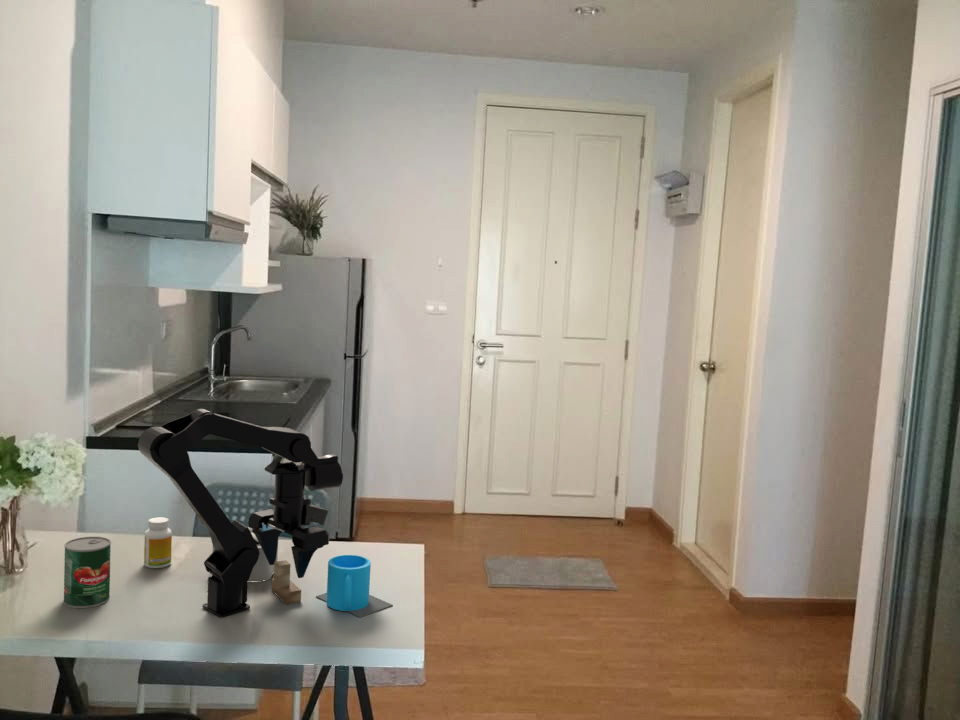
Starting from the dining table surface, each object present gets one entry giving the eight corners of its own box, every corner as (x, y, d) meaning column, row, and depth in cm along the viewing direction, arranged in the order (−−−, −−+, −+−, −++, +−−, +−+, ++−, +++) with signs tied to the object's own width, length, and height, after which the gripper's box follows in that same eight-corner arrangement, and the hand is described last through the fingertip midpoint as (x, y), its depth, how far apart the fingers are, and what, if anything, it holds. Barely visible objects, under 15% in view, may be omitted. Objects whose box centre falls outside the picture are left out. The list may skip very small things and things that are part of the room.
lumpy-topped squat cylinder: (265, 583, 171) (267, 542, 170) (203, 578, 172) (204, 537, 171) (280, 566, 182) (282, 527, 181) (221, 561, 182) (223, 522, 181)
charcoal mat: (359, 617, 158) (359, 616, 158) (315, 597, 166) (316, 596, 166) (392, 605, 164) (392, 604, 164) (349, 586, 172) (349, 585, 172)
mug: (327, 594, 167) (329, 554, 166) (368, 594, 168) (370, 555, 168) (324, 619, 155) (326, 576, 155) (368, 619, 157) (370, 577, 156)
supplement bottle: (176, 564, 179) (177, 519, 178) (154, 570, 174) (155, 525, 173) (160, 558, 182) (161, 514, 181) (138, 564, 177) (139, 519, 176)
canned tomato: (88, 611, 153) (89, 552, 152) (53, 603, 155) (54, 546, 154) (119, 596, 161) (120, 540, 159) (85, 589, 163) (86, 534, 162)
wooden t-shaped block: (282, 605, 161) (283, 570, 160) (268, 591, 168) (269, 557, 167) (300, 602, 163) (302, 567, 163) (285, 588, 170) (287, 554, 169)
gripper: (352, 497, 164) (348, 574, 165) (293, 477, 176) (290, 550, 177) (306, 507, 155) (303, 588, 157) (248, 485, 167) (245, 561, 169)
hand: (286, 571), depth 165 cm, fingers open, 9 cm apart
